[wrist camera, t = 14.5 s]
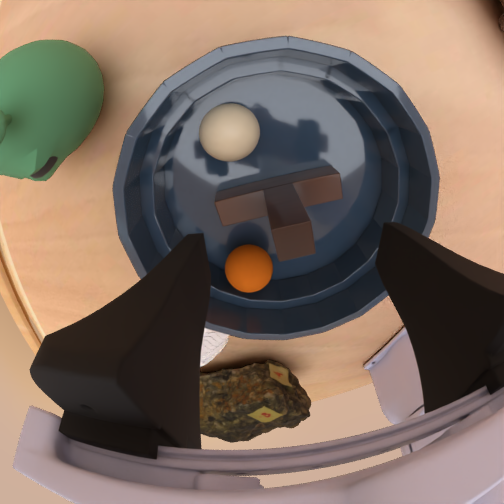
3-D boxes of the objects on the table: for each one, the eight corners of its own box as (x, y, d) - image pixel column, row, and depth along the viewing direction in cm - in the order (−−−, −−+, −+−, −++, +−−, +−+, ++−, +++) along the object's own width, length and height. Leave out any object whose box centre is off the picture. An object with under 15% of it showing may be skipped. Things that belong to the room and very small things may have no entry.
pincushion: (210, 290, 21) (203, 350, 16) (250, 333, 24) (252, 388, 19) (114, 333, 24) (98, 380, 19) (155, 365, 27) (146, 410, 22)
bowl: (317, 309, 22) (331, 357, 18) (124, 246, 18) (98, 292, 14) (431, 141, 14) (479, 164, 10) (205, 15, 10) (190, -15, 6)
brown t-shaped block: (331, 164, 15) (374, 206, 10) (334, 189, 16) (374, 239, 11) (216, 191, 16) (204, 245, 11) (224, 214, 17) (216, 276, 12)
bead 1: (248, 175, 14) (246, 130, 15) (272, 145, 11) (267, 98, 12) (192, 168, 13) (195, 123, 14) (205, 134, 10) (208, 86, 11)
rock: (230, 458, 25) (180, 456, 20) (211, 397, 32) (164, 382, 27) (323, 415, 23) (287, 410, 18) (289, 349, 30) (251, 325, 25)
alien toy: (36, 153, 14) (-65, 222, 5) (49, 49, 10) (-68, 60, 1) (115, 164, 15) (13, 254, 7) (139, 45, 11) (20, 17, 3)
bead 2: (248, 259, 20) (262, 297, 18) (211, 260, 18) (224, 302, 17) (271, 235, 18) (289, 276, 16) (232, 233, 16) (250, 280, 15)
